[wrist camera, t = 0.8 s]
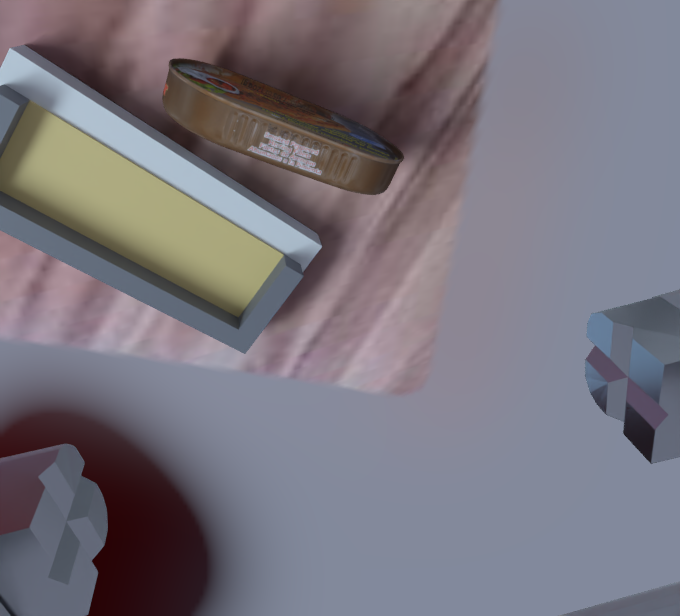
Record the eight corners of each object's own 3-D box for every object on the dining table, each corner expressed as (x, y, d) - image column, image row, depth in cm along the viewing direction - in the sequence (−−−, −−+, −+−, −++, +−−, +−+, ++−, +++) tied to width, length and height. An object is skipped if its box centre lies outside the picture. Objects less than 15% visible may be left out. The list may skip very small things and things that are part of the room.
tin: (388, 134, 40) (423, 164, 33) (371, 175, 42) (400, 213, 34) (177, 48, 36) (163, 61, 28) (164, 97, 37) (147, 122, 30)
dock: (24, 44, 34) (-3, 51, 30) (317, 234, 43) (326, 257, 39) (-42, 180, 37) (-74, 201, 33) (245, 330, 46) (247, 361, 42)
